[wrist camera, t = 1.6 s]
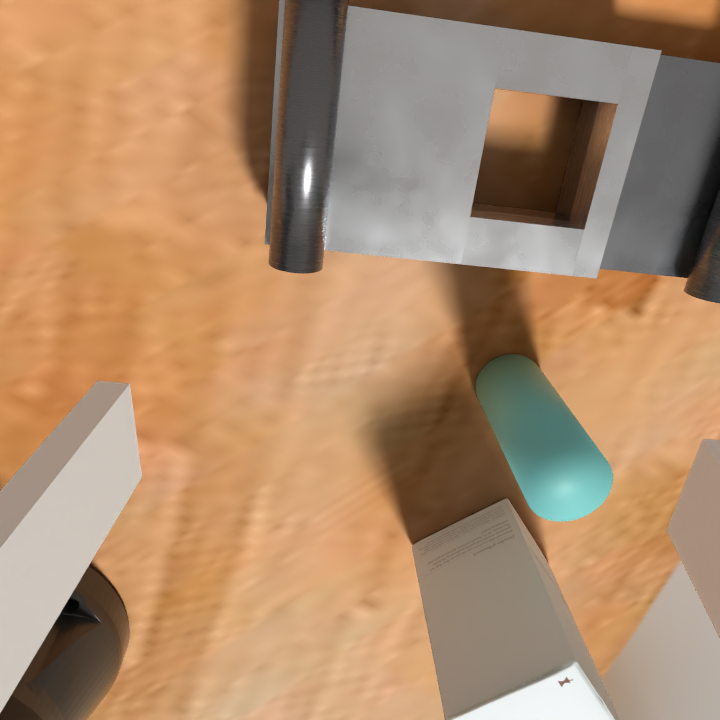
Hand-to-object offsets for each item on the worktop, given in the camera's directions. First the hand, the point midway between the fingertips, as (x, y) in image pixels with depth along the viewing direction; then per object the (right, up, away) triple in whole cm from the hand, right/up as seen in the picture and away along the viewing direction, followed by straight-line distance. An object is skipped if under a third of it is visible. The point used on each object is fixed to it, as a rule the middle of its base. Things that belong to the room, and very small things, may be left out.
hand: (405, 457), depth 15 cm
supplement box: (+7, -11, +28) cm, 31 cm away
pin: (+8, +1, +23) cm, 24 cm away
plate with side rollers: (+7, +13, +17) cm, 22 cm away
